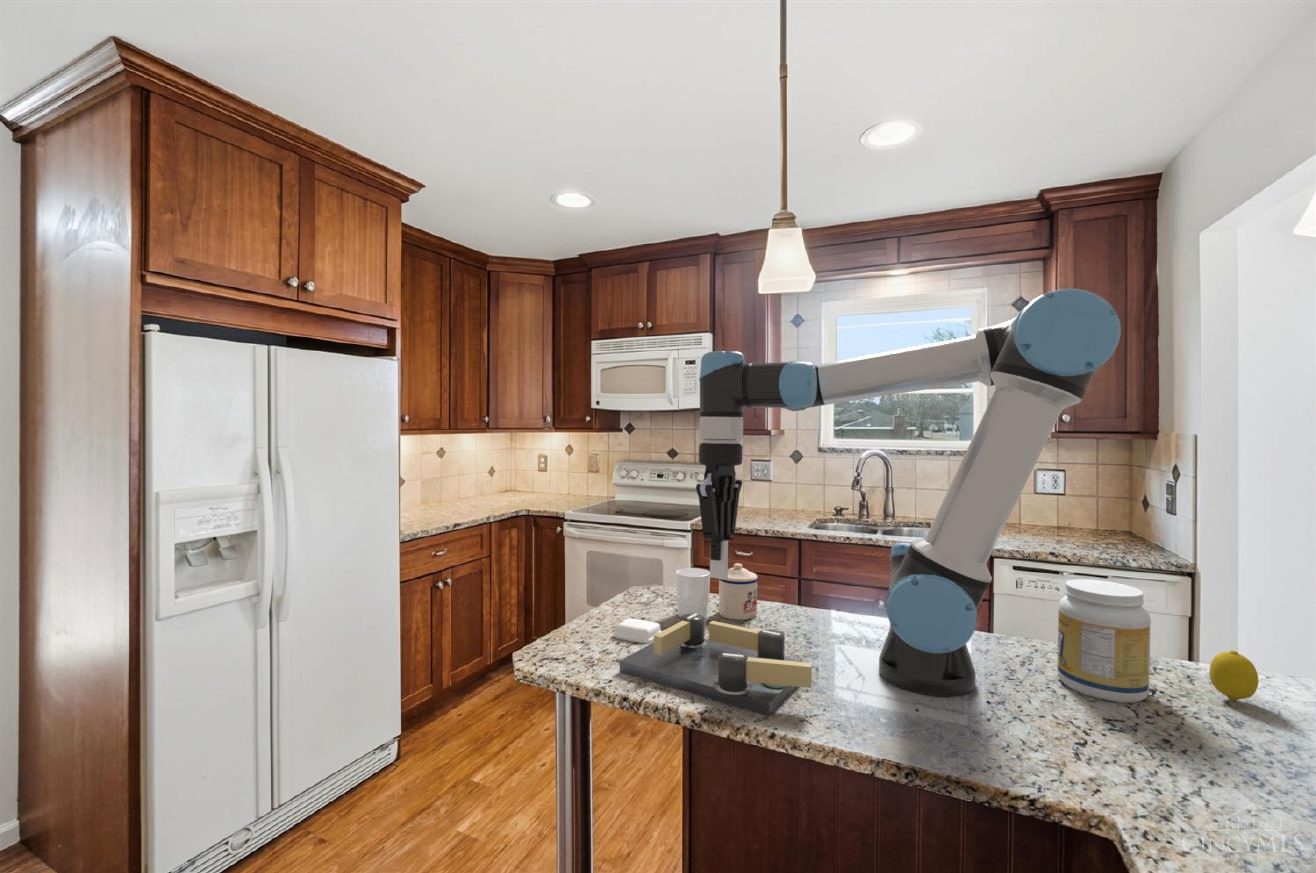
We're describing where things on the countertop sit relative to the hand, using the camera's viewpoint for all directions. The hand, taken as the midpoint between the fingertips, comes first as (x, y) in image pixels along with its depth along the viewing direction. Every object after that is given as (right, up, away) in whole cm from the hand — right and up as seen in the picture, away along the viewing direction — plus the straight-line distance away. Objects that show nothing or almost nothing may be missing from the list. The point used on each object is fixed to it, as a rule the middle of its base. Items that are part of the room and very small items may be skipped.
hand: (718, 577), depth 102 cm
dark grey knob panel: (-1, -17, +1) cm, 17 cm away
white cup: (-3, -17, +32) cm, 36 cm away
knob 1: (-7, -14, +6) cm, 17 cm away
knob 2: (+5, -15, +4) cm, 16 cm away
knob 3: (+6, -15, -10) cm, 19 cm away
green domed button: (+8, -15, -8) cm, 19 cm away
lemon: (+81, -18, -9) cm, 83 cm away
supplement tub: (+63, -18, -5) cm, 66 cm away
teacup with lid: (+8, -17, +34) cm, 39 cm away
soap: (-15, -17, +19) cm, 30 cm away
